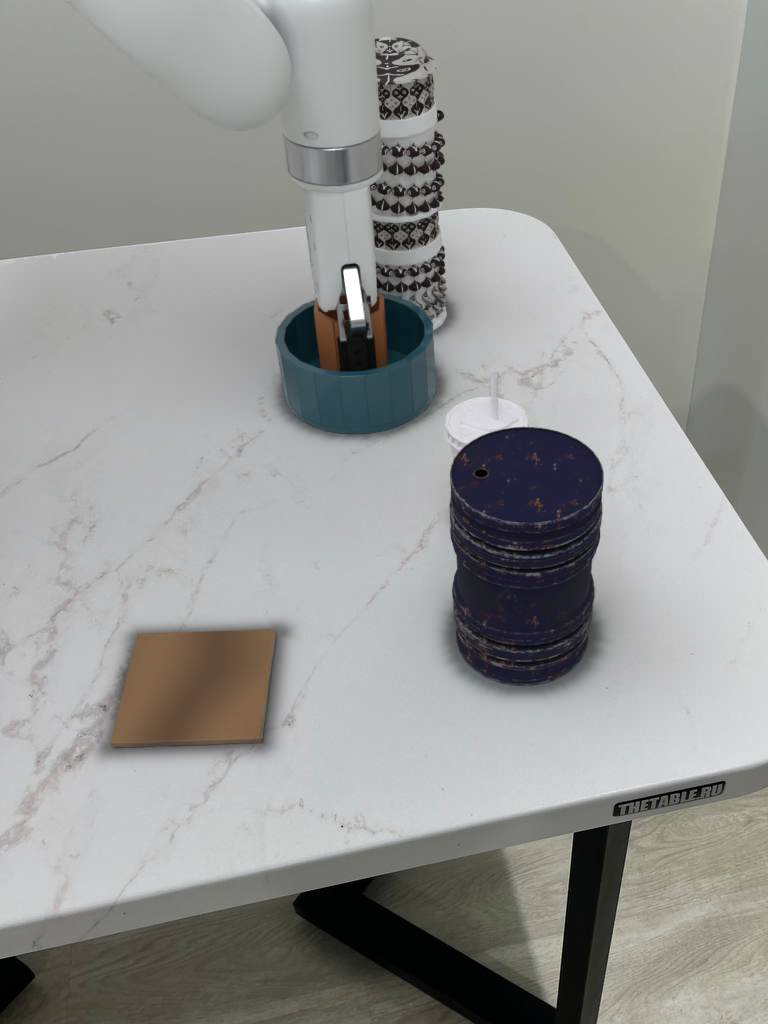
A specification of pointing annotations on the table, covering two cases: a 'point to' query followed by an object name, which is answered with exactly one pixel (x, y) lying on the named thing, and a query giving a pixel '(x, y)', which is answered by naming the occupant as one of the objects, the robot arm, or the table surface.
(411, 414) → the big pot
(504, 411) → the smoothie
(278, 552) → the table surface
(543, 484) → the navy ridged cylinder
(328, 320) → the small pot
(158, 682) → the trivet
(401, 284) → the decorative candle
